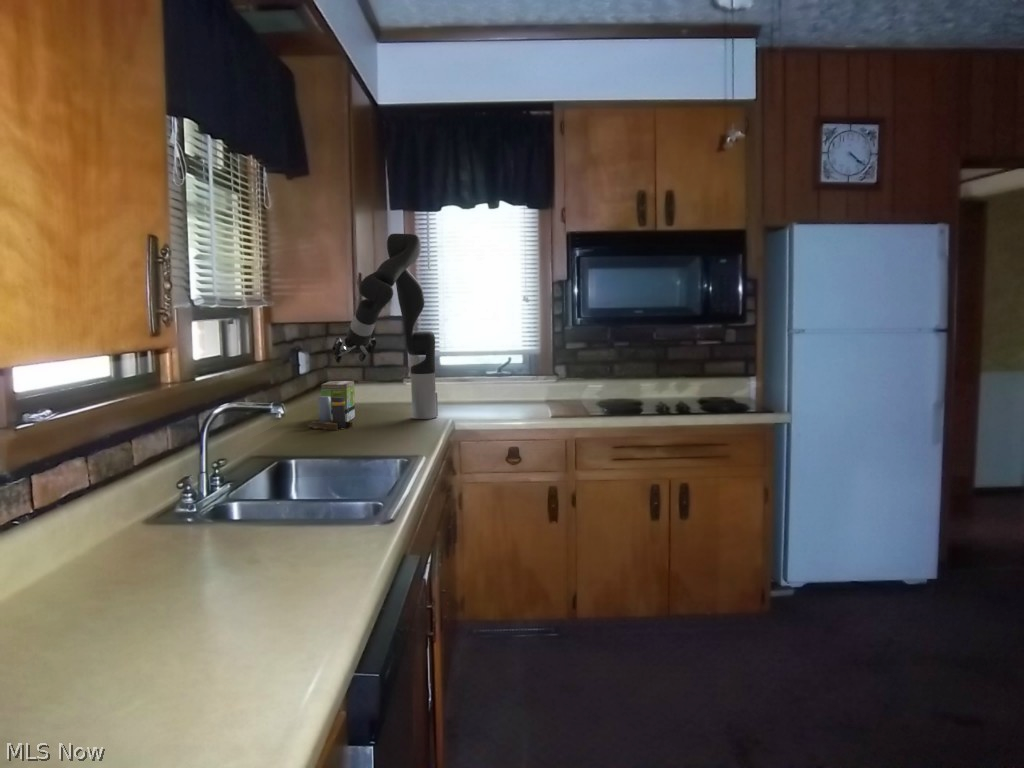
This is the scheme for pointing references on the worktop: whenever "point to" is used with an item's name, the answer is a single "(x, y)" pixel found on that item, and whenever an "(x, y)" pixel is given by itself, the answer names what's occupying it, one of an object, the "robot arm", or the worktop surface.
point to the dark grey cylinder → (339, 411)
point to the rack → (327, 425)
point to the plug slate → (324, 409)
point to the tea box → (341, 395)
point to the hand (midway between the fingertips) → (348, 360)
